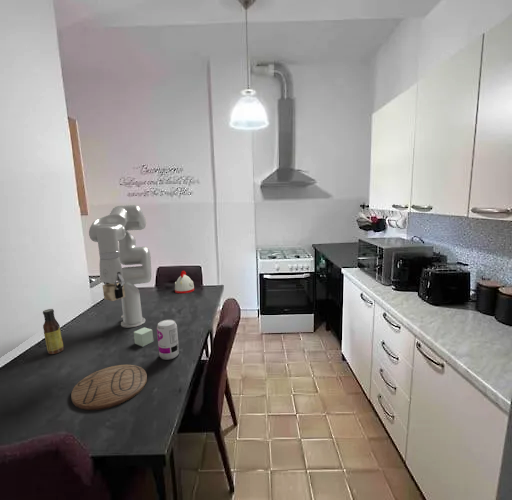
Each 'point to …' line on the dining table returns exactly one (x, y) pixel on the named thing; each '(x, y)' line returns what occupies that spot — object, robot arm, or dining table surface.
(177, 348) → the supplement can
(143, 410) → the dining table surface
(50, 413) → the dining table surface
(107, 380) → the trivet
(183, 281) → the white and red dome
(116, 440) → the dining table surface
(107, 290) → the beech cube
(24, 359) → the dining table surface
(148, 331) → the sage cube
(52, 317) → the sauce bottle
